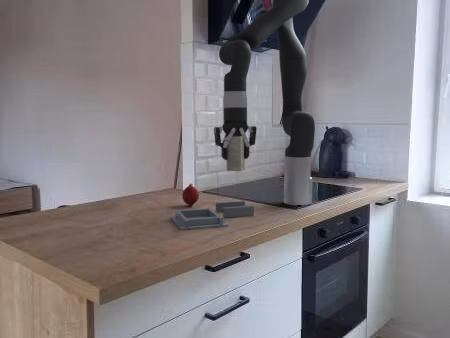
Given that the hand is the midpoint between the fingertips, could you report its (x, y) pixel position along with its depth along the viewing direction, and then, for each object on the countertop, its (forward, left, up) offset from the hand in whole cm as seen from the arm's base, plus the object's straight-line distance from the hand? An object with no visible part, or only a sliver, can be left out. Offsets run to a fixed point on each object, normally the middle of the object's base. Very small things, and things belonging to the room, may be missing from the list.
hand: (235, 158), depth 131 cm
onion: (+11, -15, -18) cm, 26 cm away
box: (0, 0, -4) cm, 4 cm away
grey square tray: (+14, +7, -18) cm, 24 cm away
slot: (0, 0, -18) cm, 18 cm away
